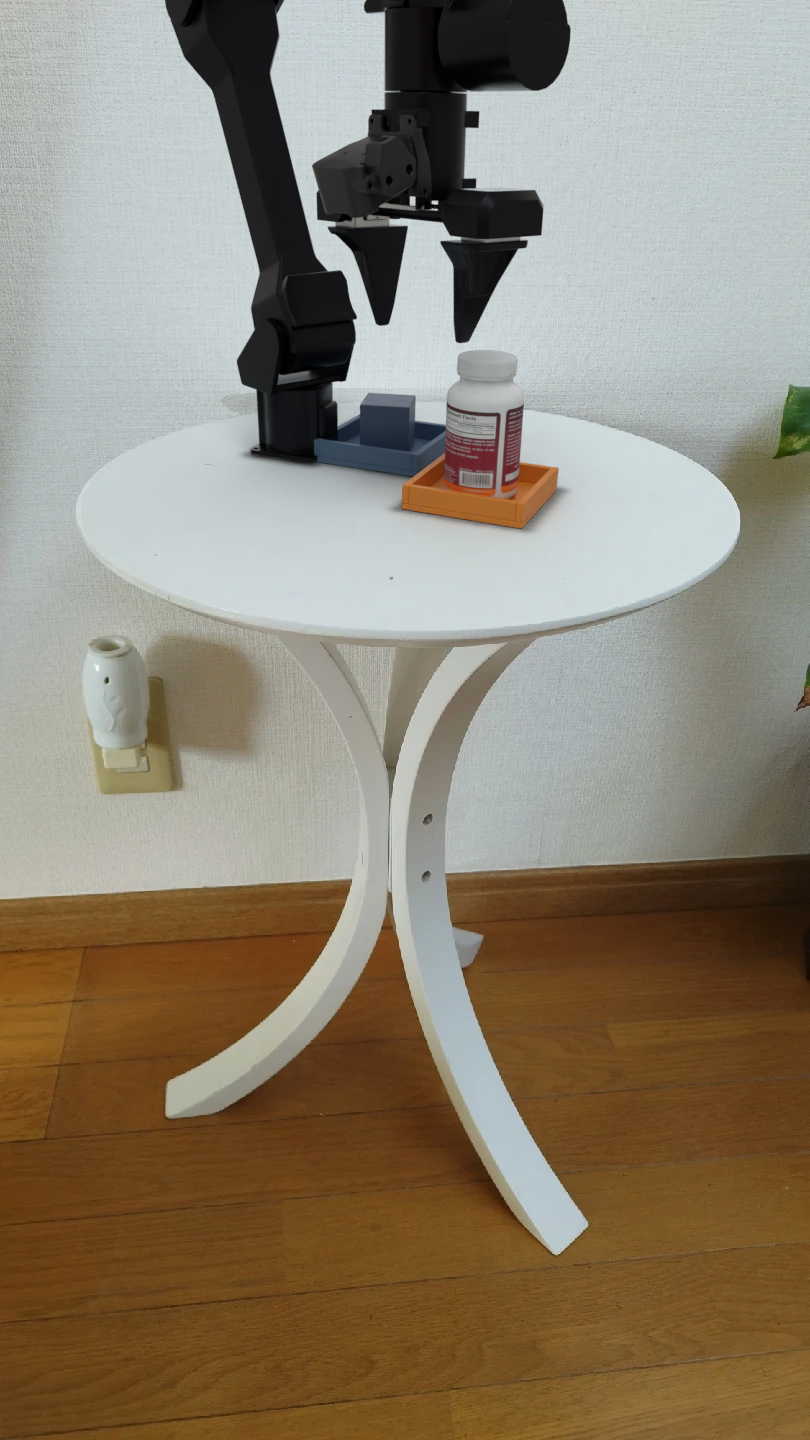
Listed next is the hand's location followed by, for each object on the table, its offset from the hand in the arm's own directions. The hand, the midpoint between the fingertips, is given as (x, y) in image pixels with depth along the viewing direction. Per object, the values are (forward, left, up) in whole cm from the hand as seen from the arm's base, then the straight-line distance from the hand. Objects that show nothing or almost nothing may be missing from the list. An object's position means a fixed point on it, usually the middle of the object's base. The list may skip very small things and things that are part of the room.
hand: (420, 333), depth 77 cm
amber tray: (+5, +3, -13) cm, 14 cm away
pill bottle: (+5, +3, -13) cm, 14 cm away
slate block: (-7, +11, -13) cm, 18 cm away
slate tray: (-7, +11, -13) cm, 18 cm away
